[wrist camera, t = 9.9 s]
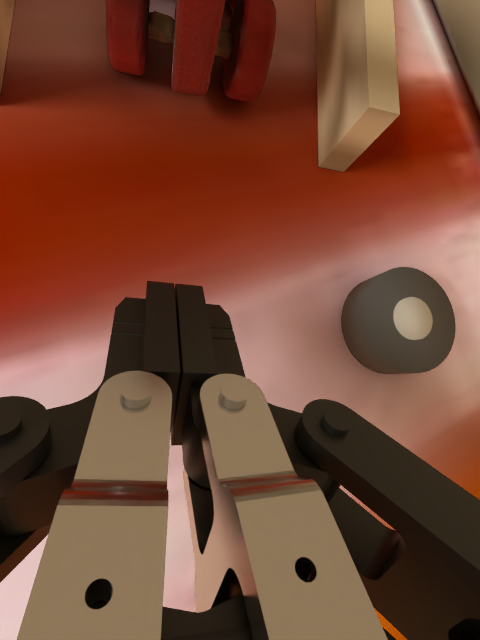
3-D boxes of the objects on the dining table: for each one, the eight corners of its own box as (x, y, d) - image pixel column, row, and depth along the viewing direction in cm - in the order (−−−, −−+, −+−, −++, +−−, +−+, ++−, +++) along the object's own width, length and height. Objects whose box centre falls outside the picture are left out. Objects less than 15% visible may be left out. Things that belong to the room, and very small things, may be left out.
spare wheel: (327, 291, 19) (352, 280, 17) (405, 268, 20) (436, 255, 18) (361, 387, 18) (390, 388, 16) (437, 356, 20) (473, 353, 18)
